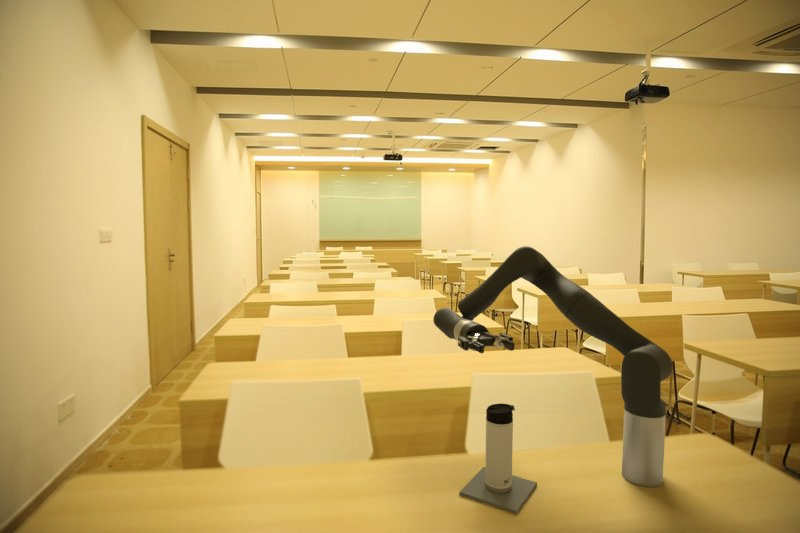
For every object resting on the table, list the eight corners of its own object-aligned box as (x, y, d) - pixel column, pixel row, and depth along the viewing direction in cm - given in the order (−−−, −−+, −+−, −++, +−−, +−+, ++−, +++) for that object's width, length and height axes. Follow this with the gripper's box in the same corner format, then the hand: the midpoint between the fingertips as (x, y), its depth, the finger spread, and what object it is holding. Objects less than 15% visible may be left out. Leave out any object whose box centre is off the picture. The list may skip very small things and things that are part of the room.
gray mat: (483, 469, 126) (483, 466, 126) (536, 485, 118) (536, 482, 118) (459, 495, 114) (459, 491, 114) (516, 514, 107) (516, 510, 107)
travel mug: (513, 495, 113) (515, 411, 111) (484, 492, 114) (485, 409, 112) (512, 481, 119) (514, 401, 117) (485, 478, 120) (486, 400, 118)
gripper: (448, 323, 137) (472, 335, 122) (493, 320, 141) (522, 331, 126) (447, 349, 138) (472, 364, 122) (493, 345, 142) (522, 360, 126)
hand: (498, 348), depth 124 cm, fingers open, 8 cm apart
